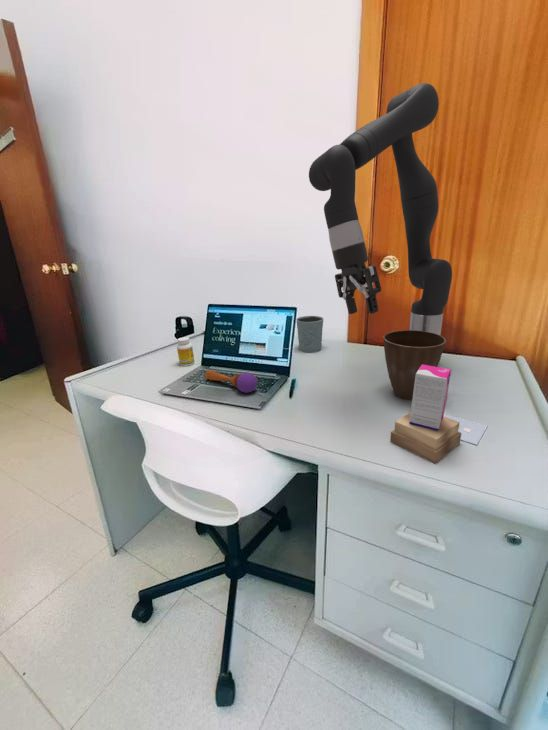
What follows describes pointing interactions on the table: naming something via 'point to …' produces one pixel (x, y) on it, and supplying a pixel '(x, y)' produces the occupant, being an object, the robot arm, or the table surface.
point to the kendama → (235, 380)
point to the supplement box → (429, 396)
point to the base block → (426, 438)
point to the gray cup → (310, 333)
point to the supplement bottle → (185, 352)
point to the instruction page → (469, 430)
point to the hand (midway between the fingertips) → (362, 313)
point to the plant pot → (410, 357)
